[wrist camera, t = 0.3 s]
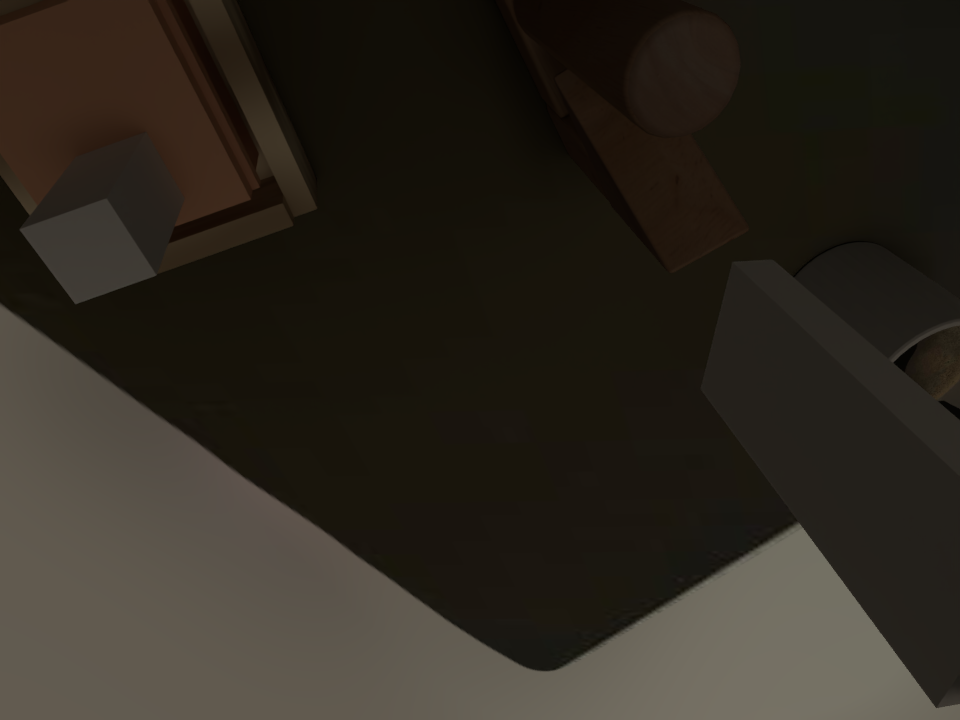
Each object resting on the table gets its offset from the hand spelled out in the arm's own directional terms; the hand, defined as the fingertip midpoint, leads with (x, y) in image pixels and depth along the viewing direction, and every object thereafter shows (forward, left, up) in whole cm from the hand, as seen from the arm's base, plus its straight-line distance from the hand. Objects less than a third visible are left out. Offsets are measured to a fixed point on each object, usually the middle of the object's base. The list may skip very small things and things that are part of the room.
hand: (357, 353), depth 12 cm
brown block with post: (0, -9, -27) cm, 28 cm away
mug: (+28, +26, -28) cm, 47 cm away
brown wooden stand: (+5, +11, -28) cm, 30 cm away
